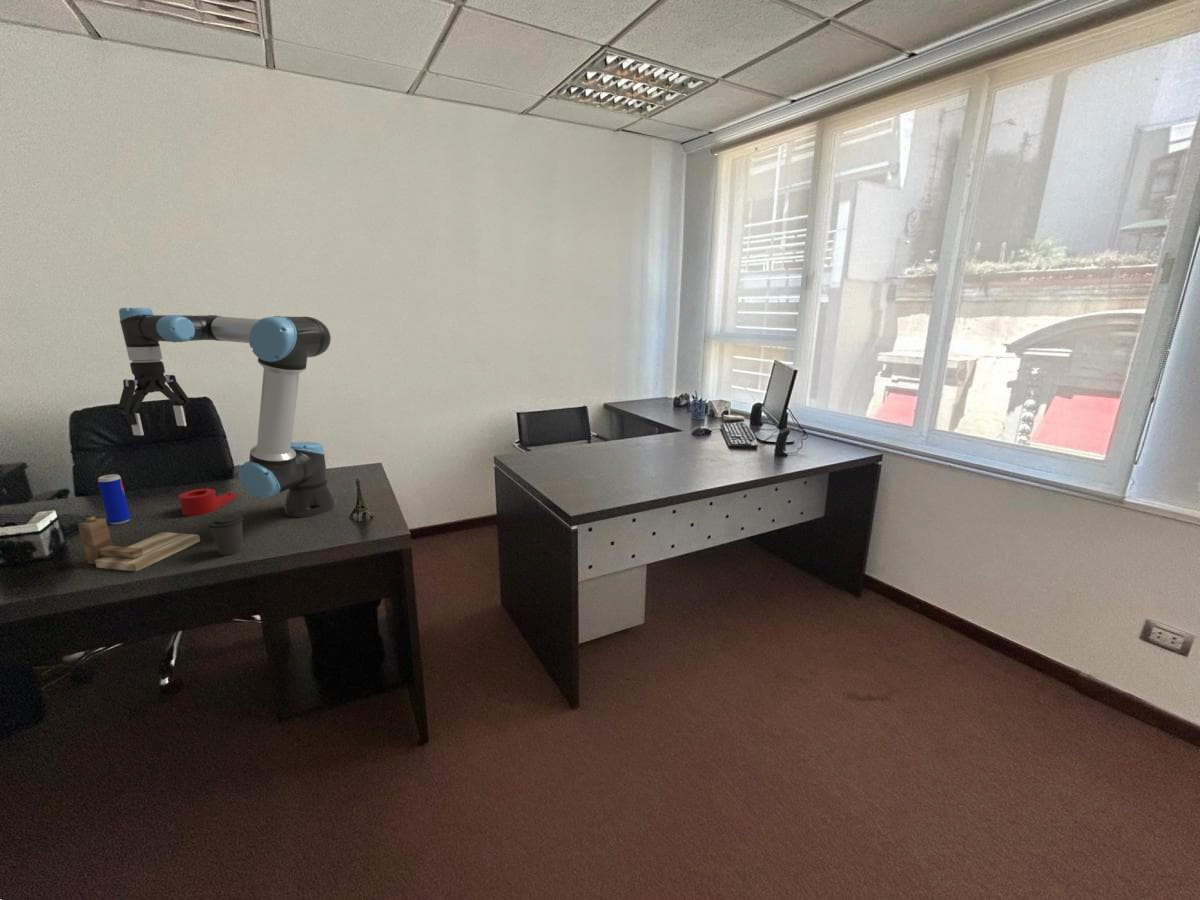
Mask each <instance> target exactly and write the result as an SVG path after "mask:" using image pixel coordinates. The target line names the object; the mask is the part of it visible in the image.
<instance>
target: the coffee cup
mask: <svg viewBox="0 0 1200 900" xmlns="http://www.w3.org/2000/svg"><path fill="white" fill-rule="evenodd" d="M244 520H245V518H244V517H243V516H241V515H237V514H233V515H223V516H220V517H216V518H214V519H212V520H210V521H209V522H208V524H207V528H210V529H209V530H211V533H212V537H213V539H214V542H215V545H216V548H217V551H218V554H219V556H223V557H225V556H226V557H229V556H233V555H237V554H239V553H241V552H242V551H243V550H244V543H243V541H244V539H243V538H244V537H243V521H244Z"/></svg>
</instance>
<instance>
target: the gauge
mask: <svg viewBox="0 0 1200 900" xmlns="http://www.w3.org/2000/svg"><path fill="white" fill-rule="evenodd" d="M77 527H78V531H79V534H80V538H81V541H82V545H83V549H84V553H85V556H86V559H87V563H88V564H92V565H96V563H95V560H97V559H99V558H102V557H104V556H116V557H127V558H135V557H138V556H140V555H142V554H143V550H142V548H132V547H128V546H120V545H119V546H118V545H114V544H113V541H112V537H111V535H110V530H109V525H108V520H107V518H104V517H103V518H101V517H96V516H95V515H94V516H88V517H86V520H84V521H82V522H78V523H77Z"/></svg>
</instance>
